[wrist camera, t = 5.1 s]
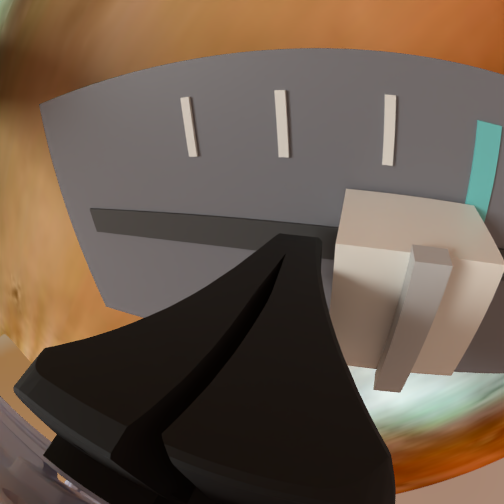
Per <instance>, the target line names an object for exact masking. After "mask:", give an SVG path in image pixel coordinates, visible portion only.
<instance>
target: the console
mask: <svg viewBox="0 0 504 504" xmlns="http://www.w3.org/2000/svg"><path fill="white" fill-rule="evenodd" d="M39 106H40V111H41V116H42V121H43V125H44V130H45V134H46V139H47V143H48V147H49V151H50V154H51V158H52V162H53V166H54V169H55V173H56V176H57V180H58V183H59V186H60V189H61V193H62V196H63V199H64V202H65V205H66V208H67V211H68V214H69V217H70V220H71V222H72V225H73V228H74V231H75V233H76V236H77V239H78V241H79V244H80V247H81V249H82V252H83V254H84V257H85V259H86V262H87V264H88V266H89V269H90V271H91V274H92V276H93V278H94V281H95V283H96V285H97V287H98V290H99V292H100V294H101V296H102V298H103V301H104V303H105V305H106V307H110V308H113V309H116V310H119V311H123V312H126V313H129V314H133V315H136V316H140V317H143V318H145V317H148V316H150V315H152V314H154V313H157V312H159V311H161V310H163V309H166V308H168V307H170V306H172V305H174V304H176V303H178V302H179V301H181V300H183V299H185V298H187V297H189V296H191V295H192V294H194V293H196V292H197V291H199V290H201V289H203V288H204V287H206V286H207V285H209V284H210V283H212V282H213V281H215V280H216V279H218V278H219V277H221V276H222V275H224V274H225V273H227V272H228V271H230V270H231V269H233V268H234V267H236V266H237V265H238V264H240V263H241V262H242V261H244V260H245V259H246V258H248V257H249V256H250V255H252V254H253V253H254V252H256V251H257V250H258V249H259V248H261V247H262V246H263V245H264V244H266V243H267V242H268V241H270V240H271V239H272V238H273V237H275V236H276V235H277V234H279V233H281V234H291V235H300V236H310V237H319V238H320V239H321V241H322V263H321V276H322V282H323V288H324V293H325V298H326V302H327V306H328V310H329V311H330V302H331V292H332V281H333V270H334V257H335V244H336V239H337V234H338V229H339V224H340V219H341V213H342V208H343V202H344V197H345V191H346V189H355V190H364V191H374V192H383V193H391V194H399V195H407V196H415V197H422V198H429V199H436V200H443V201H449V202H456V203H462V204H468V205H474V206H475V208H476V210H477V211H478V213H479V215H480V217H481V218H482V220H483V222H484V224H485V225H486V227H487V229H488V231H489V232H490V234H491V236H492V238H493V240H494V242H495V244H496V246H497V248H498V249H499V251H500V253H501V255H502V257H503V259H504V75H502V74H499V73H495V72H492V71H488V70H484V69H481V68H477V67H473V66H469V65H464V64H460V63H455V62H451V61H446V60H440V59H435V58H429V57H423V56H416V55H409V54H402V53H393V52H383V51H372V50H357V49H331V48H304V49H277V50H262V51H251V52H241V53H232V54H224V55H216V56H210V57H203V58H197V59H191V60H186V61H180V62H175V63H170V64H166V65H161V66H157V67H152V68H148V69H144V70H140V71H136V72H132V73H128V74H125V75H121V76H118V77H114V78H111V79H108V80H104V81H101V82H98V83H95V84H92V85H89V86H86V87H83V88H80V89H77V90H75V91H72V92H69V93H66V94H64V95H61V96H59V97H56V98H54V99H51V100H49V101H46V102H44V103H41V104H39ZM454 372H472V373H504V273H503V275H502V278H501V280H500V282H499V285H498V287H497V289H496V292H495V294H494V296H493V299H492V301H491V303H490V305H489V307H488V309H487V311H486V314H485V316H484V318H483V320H482V322H481V324H480V326H479V328H478V330H477V331H476V333H475V335H474V337H473V339H472V341H471V343H470V344H469V346H468V348H467V350H466V352H465V353H464V355H463V357H462V359H461V360H460V362H459V364H458V365H457V367H456V369H455V370H454Z"/></svg>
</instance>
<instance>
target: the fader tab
mask: <svg viewBox="0 0 504 504" xmlns="http://www.w3.org/2000/svg"><path fill="white" fill-rule="evenodd" d="M503 273H504V259H503V257H502V255H501V253H500V251H499V249H498V248H497V246H496V244H495V242H494V240H493V238H492V236H491V234H490V232H489V231H488V229H487V227H486V225H485V224H484V222H483V220H482V218H481V217H480V215H479V213H478V211H477V210H476V208H475V206H474V205H468V204H462V203H456V202H449V201H443V200H436V199H429V198H422V197H415V196H407V195H399V194H391V193H383V192H374V191H364V190H355V189H346V191H345V197H344V202H343V208H342V213H341V219H340V224H339V229H338V234H337V239H336V244H335V257H334V270H333V281H332V292H331V302H330V311H329V314H330V317H331V321H332V324H333V327H334V330H335V334H336V337H337V340H338V342H339V345H340V348H341V351H342V354H343V356H344V359H345V361H346V363H347V365H350V366H357V367H365V368H373V369H377V370H376V373H375V382H374V390H380V391H390V392H401V390H402V388H403V386H404V384H405V382H406V380H407V378H408V376H409V374H410V373H422V374H435V375H452V373H453V372H454V370H455V369H456V367H457V365H458V364H459V362H460V360H461V359H462V357H463V355H464V353H465V352H466V350H467V348H468V346H469V344H470V343H471V341H472V339H473V337H474V335H475V333H476V331H477V330H478V328H479V326H480V324H481V322H482V320H483V318H484V316H485V314H486V311H487V309H488V307H489V305H490V303H491V301H492V299H493V296H494V294H495V292H496V289H497V287H498V285H499V282H500V280H501V278H502V275H503Z"/></svg>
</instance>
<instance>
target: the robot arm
mask: <svg viewBox="0 0 504 504" xmlns="http://www.w3.org/2000/svg"><path fill="white" fill-rule="evenodd" d="M321 263H322V241H321V239H320V238H319V237H310V236H300V235H291V234H281V233H279V234H277V235H276V236H275V237H273V238H272V239H271V240H270V241H268V242H267V243H266V244H264V245H263V246H262V247H261V248H259V249H258V250H257V251H256V252H254V253H253V254H252V255H250V256H249V257H248V258H246V259H245V260H244V261H242V262H241V263H240V264H238V265H237V266H236V267H234V268H233V269H231V270H230V271H228V272H227V273H225V274H224V275H222V276H221V277H219V278H218V279H216V280H215V281H213V282H212V283H210V284H209V285H207V286H206V287H204V288H203V289H201V290H199V291H197V292H196V293H194V294H192V295H191V296H189V297H187V298H185V299H183V300H181V301H179V302H178V303H176V304H174V305H172V306H170V307H168V308H166V309H163V310H161V311H159V312H157V313H154V314H152V315H150V316H148V317H145V318H143V319H141V320H138V321H136V322H134V323H131V324H129V325H126V326H123V327H120V328H118V329H115V330H112V331H109V332H106V333H103V334H100V335H97V336H93V337H90V338H86V339H83V340H78V341H74V342H70V343H66V344H62V345H58V346H53V347H48V348H45V349H44V350H43V351H42V352H41V353H40V354H39V356H38V357H37V358H36V359H35V360H34V362H33V363H32V364H31V365H30V367H29V368H28V369H27V370H26V372H25V373H24V374H23V376H22V377H21V378H20V379H19V381H18V382H17V383H16V384H15V386H14V392H15V394H16V395H17V396H18V398H19V399H20V400H21V401H22V402H23V403H24V404H25V405H26V406H27V407H28V408H29V409H30V410H31V411H32V412H33V413H34V414H35V415H36V416H37V417H39V418H40V419H41V420H42V421H43V422H44V423H45V424H46V425H47V426H49V427H50V428H51V429H52V430H53V431H54V432H55V433H56V434H57V435H56V437H55V438H54V440H53V441H52V442H51V441H49V440H48V439H47V438H46V437H44V436H43V435H42V434H41V433H40V432H38V431H37V430H36V429H35V428H34V427H33V426H31V425H30V424H29V423H28V422H27V421H26V420H24V419H23V418H22V417H21V416H20V415H19V414H18V413H17V412H16V411H14V410H13V409H12V408H11V406H10V405H9V404H8V403H7V402H6V401H5V400H3V398H2V397H1V396H0V504H395V479H394V471H393V465H392V458H391V454H390V452H389V450H388V448H387V446H386V444H385V443H384V441H383V439H382V437H381V435H380V434H379V432H378V430H377V428H376V426H375V424H374V422H373V420H372V418H371V416H370V415H369V412H368V410H367V408H366V406H365V404H364V402H363V400H362V398H361V396H360V394H359V392H358V389H357V387H356V385H355V382H354V380H353V378H352V375H351V373H350V370H349V368H348V366H347V363H346V361H345V359H344V356H343V354H342V351H341V348H340V345H339V342H338V340H337V337H336V334H335V330H334V327H333V324H332V321H331V317H330V314H329V310H328V306H327V302H326V298H325V293H324V288H323V282H322V276H321ZM57 473H59V474H60V475H61V476H63V477H64V478H65V479H66V481H65V483H63V482H61V481H59V480H58V478H57Z"/></svg>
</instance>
